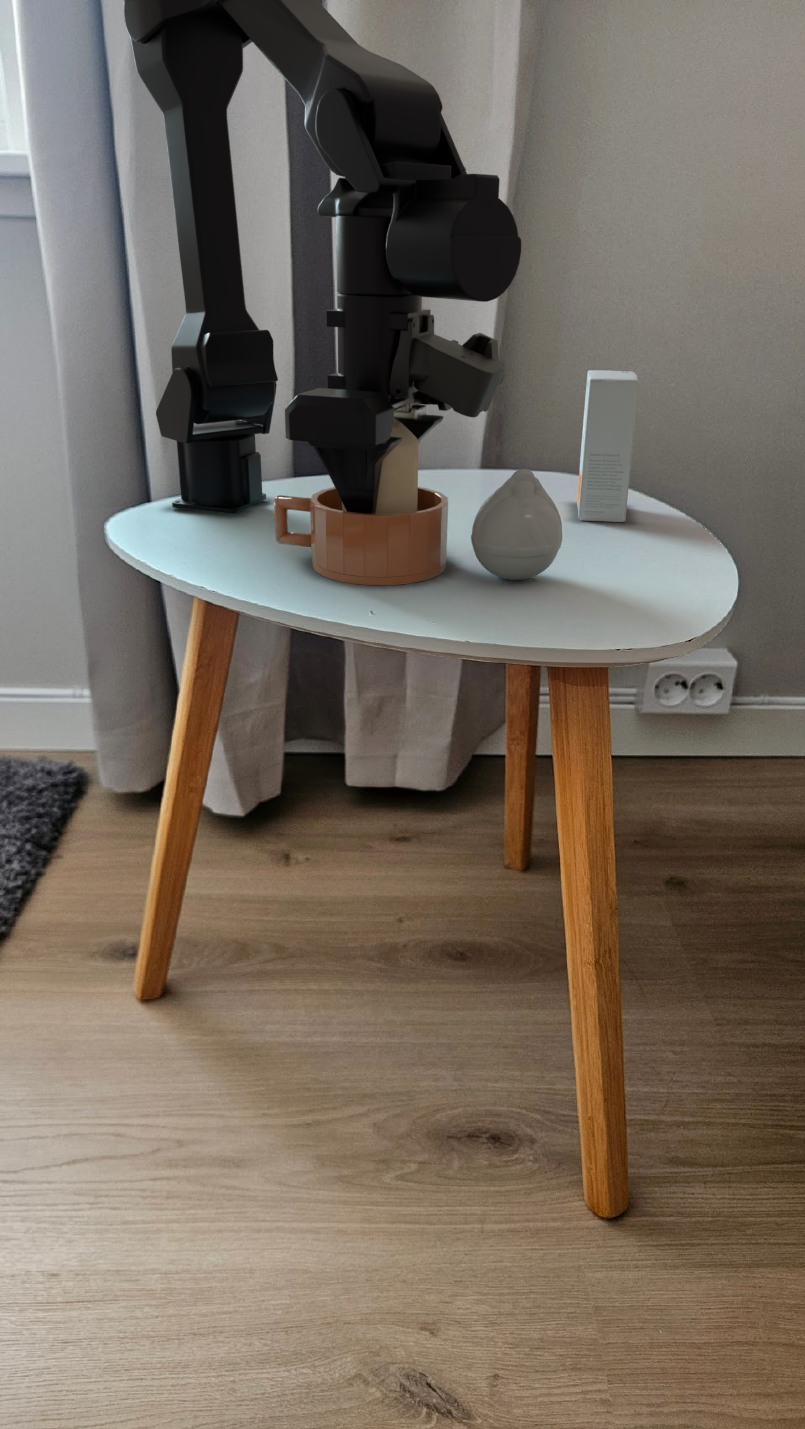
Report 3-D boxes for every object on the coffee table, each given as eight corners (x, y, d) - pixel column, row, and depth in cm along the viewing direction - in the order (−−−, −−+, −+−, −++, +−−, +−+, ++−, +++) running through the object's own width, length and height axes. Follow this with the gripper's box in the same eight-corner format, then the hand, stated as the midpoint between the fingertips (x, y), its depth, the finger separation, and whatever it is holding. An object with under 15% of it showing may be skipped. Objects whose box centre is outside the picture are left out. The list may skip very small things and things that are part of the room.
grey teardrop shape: (542, 561, 76) (550, 455, 73) (570, 589, 70) (580, 475, 66) (458, 564, 75) (463, 456, 72) (479, 593, 69) (485, 477, 66)
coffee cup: (461, 554, 78) (464, 490, 75) (421, 592, 69) (423, 521, 67) (303, 536, 82) (301, 475, 79) (246, 570, 73) (243, 502, 71)
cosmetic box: (575, 504, 93) (587, 369, 88) (621, 506, 92) (636, 371, 87) (576, 521, 87) (589, 378, 82) (625, 523, 87) (641, 379, 82)
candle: (408, 569, 72) (411, 427, 67) (334, 564, 73) (332, 423, 68) (422, 549, 77) (425, 414, 72) (352, 543, 77) (352, 411, 73)
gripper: (454, 305, 56) (445, 571, 63) (528, 292, 72) (514, 505, 79) (276, 299, 60) (285, 551, 66) (384, 287, 76) (383, 492, 82)
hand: (378, 523), depth 73 cm, fingers closed on candle, 5 cm apart
